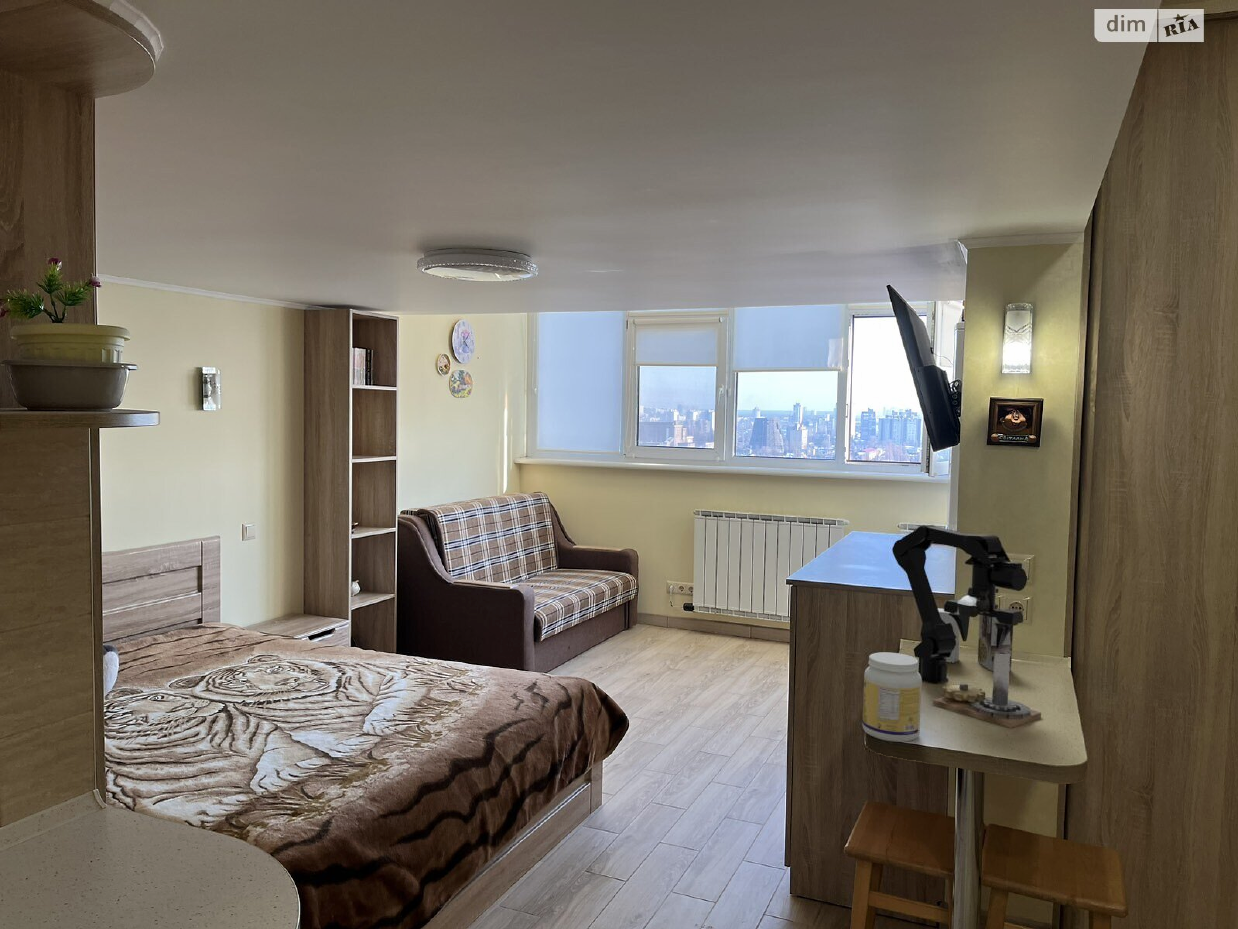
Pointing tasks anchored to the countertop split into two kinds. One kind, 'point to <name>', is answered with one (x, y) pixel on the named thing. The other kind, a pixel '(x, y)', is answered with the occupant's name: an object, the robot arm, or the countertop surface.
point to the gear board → (972, 704)
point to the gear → (1000, 685)
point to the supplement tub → (892, 697)
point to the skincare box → (950, 619)
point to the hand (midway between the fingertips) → (981, 645)
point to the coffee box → (991, 641)
